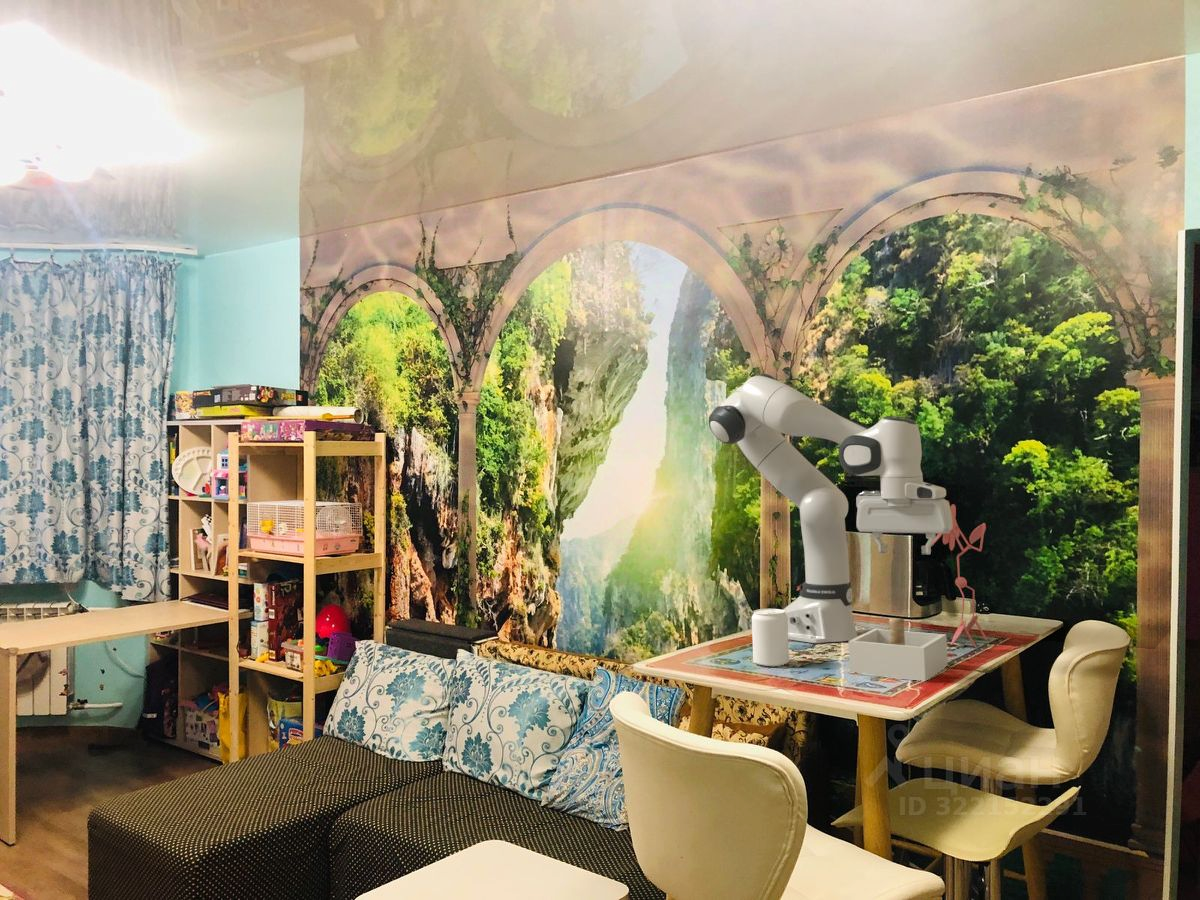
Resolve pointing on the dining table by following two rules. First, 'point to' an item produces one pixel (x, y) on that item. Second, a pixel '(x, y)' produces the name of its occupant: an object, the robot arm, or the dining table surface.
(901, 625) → the peg
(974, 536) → the pink stick figurine
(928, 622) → the dining table surface
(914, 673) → the peg box
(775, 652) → the beverage can
